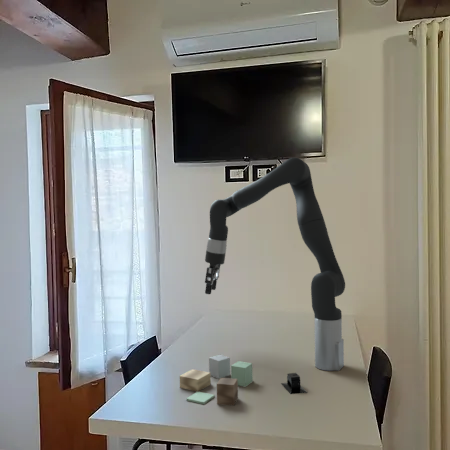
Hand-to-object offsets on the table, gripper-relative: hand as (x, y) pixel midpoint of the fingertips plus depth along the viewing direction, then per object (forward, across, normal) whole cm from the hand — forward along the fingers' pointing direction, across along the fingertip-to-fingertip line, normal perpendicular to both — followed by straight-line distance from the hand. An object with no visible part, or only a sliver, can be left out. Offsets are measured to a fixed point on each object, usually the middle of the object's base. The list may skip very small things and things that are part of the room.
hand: (210, 291), depth 191 cm
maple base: (+22, -37, -6) cm, 44 cm away
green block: (+20, -32, -20) cm, 43 cm away
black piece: (+18, -34, -37) cm, 53 cm away
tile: (+21, -47, -10) cm, 52 cm away
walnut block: (+20, -47, -19) cm, 55 cm away
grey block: (+21, -26, -12) cm, 36 cm away
